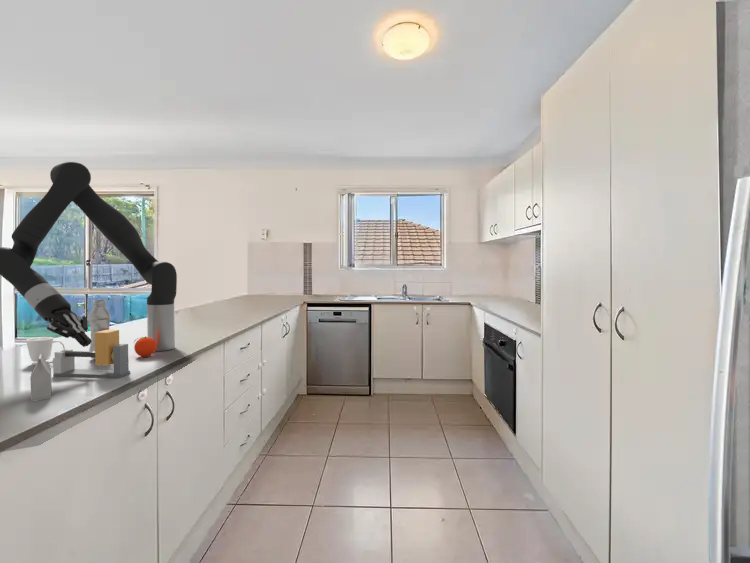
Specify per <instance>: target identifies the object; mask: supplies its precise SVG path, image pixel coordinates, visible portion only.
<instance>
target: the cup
mask: <svg viewBox="0 0 750 563" xmlns="http://www.w3.org/2000/svg"><path fill="white" fill-rule="evenodd" d="M25 343H26V348H27V351H28V355H29V357H30V358H29V359H31V360H30V361H32V363H31V365H33V366H35V365H36V363H37V362H38V359H39V356H40V354H42V355H43V358H44V359H45V361H46V362H47V364H48V362H50V363H53V359H52V360H50V358H51V355H52V348H53V344H54V343H59V344H60V345H62V348H63V349H62V350H66V346H65V344H64V343H63V341H61V340H58V339H57V340H55V339H54V337H52V336H38V337H31V338H27V339H26V340H25ZM49 360H50V361H49Z"/></svg>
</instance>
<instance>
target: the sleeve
mask: <svg viewBox="0 0 750 563" xmlns="http://www.w3.org/2000/svg"><path fill="white" fill-rule="evenodd" d="M119 344H120V330H119V329H109V330H103V331H99V332H95V359H94V360H95V363H94V364H95V366H111V365H114V364H113V360H112V359H111V352H112V351H113V346H116V345H119Z"/></svg>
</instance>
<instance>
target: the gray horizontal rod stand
mask: <svg viewBox="0 0 750 563" xmlns="http://www.w3.org/2000/svg"><path fill="white" fill-rule="evenodd" d="M73 350H74V349H65V350H64V349H62V350H60V351H54V352H53V353H54V357H53V358H52V360H53V362H52V369H53V370H52V374H53V377H72V376H77V377H79V378H81V377H82V378H103V377H106V379H107V378H109V379H120V378H122V377H125V376H128V375H129V374H131V370H130V369H129V344H128V343H119V345H116V346H113V351H112V352H111V359H112V360H113V364H112V365H113V369H89V368H87V369H86V368H85V369H84V368H76V367H75V366H76V365H75V358H91V357H95V352H89V351H79V350H77V351H76V350H75V351H73Z"/></svg>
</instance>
